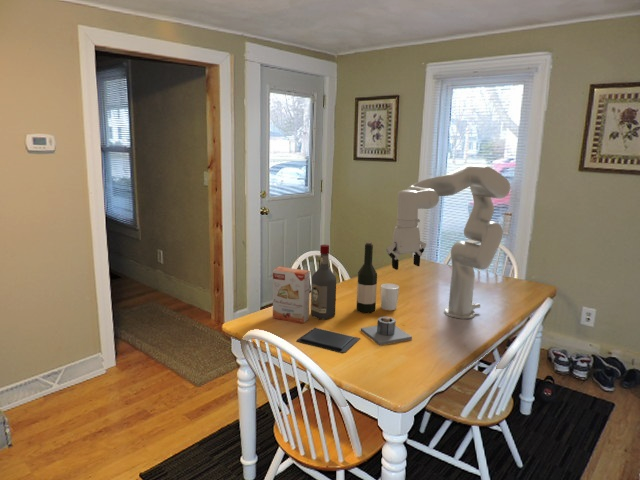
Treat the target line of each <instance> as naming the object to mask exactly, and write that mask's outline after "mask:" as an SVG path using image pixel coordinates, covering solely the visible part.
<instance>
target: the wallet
mask: <svg viewBox="0 0 640 480" xmlns="http://www.w3.org/2000/svg"><path fill="white" fill-rule="evenodd" d="M361 339H362V338H361V337H357V336H353V335H348V334H345V333H342V332H341V333H340V332H337V331H336V332H335V331H332V330H328V329H325V328H318V327H314V328H312V329H311V330H308V332H306V333H304V334H303V335H302V336H301V337H299V338H297V339H296V341H295V342H296V343H300V344H304V345H307V346H312V347H315V348H320V349H324V350H327V351H331V352H335V353H339V354H345V353H347V352H348V351H349V350H350V349H352V347H353V346H354V345H356V344H357V343H358V342H359V341H360V340H361Z"/></svg>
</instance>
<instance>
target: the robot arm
mask: <svg viewBox="0 0 640 480" xmlns="http://www.w3.org/2000/svg"><path fill="white" fill-rule="evenodd" d="M468 188H470V192H471V195H472V198H473V207H472V209H471V212H470V214H469V217H468V219H467V221H466V224H465V226H464V229H463V236H464V238H466V239H467V240H470V241H474V242H478V243H480V244H476V243H473V242H470V241H465V240H461V241H457V242H454V243H453V245H452V247H451V249H450V261H451V276H450V277H451V278H450V287H449V288H450V289H449V296H448V297H449V299H448V306H447V307H445V308H444V314H446V315H447V316H448V317H452V318H454V319H455V318H456V319H460V320H461V319H462V320H463V319H464V320H466V319H469V320H470V319H472V318H474V317H475V316H476V312H475V309H479V308H481V304H480V303H475V304H474V302H473V300H474V299H473V298H474V289H475V287H474V286H475V278H476V275H475V269H477V270H483V271H484V270H486V269H488V268H489V267H490V266H491V264H492V262H493V260H494V258H495V256H496V254H497V251H498V249H499V246H500V244H501V242H502V239H503V235H504V233H503V232H504V231H503V227H502V225H501V224H500V223H498V222H497V221H492V217H493V215H494V212H495V207H494V203H493V201H492V199H503V198H506V197H507V196H508V195H509V193H510V191H511V184H510V181H509V179H508V178H507V177H506V176H504V175H502V174H501V173H500V172H499V171H497V170H495V169H494V168H492V167H491V166H488V165H482V164H465V165H462V166H461V167H459V168H456V169H455V170H453V171H451V172H448V173H446V174H443V175H439V176H434V177H432V178H427V179H423V180H420V181H418V182H415V183H413V184H411V185H409V186H408V187H406V189H402V190H399V191H398V192H397V207H396V208H397V211H396V212H397V214H396V215H397V216H396V226H395V227H394V230H393V234H392V242H391V244H390V245H389V246H387V247H386V249H385V250H386V252H387V255H388V256H389V257H390V259H391V267H392V269H394V270H396V271H398V270H399V257H400V255H404V254H405V255H406V254H412V253H414V254H413V265H414V266H416V267H420V263H421V256H423V255H422V254H423V253H424V252H425V249H426V247H427V243H426V242H424V241H422V240H421V233H420V227H419V226H418V223H420V221H421V220H420V219H419V218H418V217H419V214H418V213H419V212H418V211H419V210H420V209H422V210H430V209H432V208H435V207H436V206H437V205H438V203H439V201H440V197H448V196H453V195H454V196H455V195H456V194H458V193H460V192H462V191H463V190H466V189H468Z"/></svg>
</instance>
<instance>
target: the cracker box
mask: <svg viewBox="0 0 640 480" xmlns="http://www.w3.org/2000/svg"><path fill="white" fill-rule="evenodd" d="M310 277H311V271H310V270H306V269H298V268H293V267H286V266H285V267H284V266H277V267H276V268H274V269H273V270H272V318H273V319H278V320H282V321H288V322H294V323H299V324H305V323H306V322H307V321H308V320H309V318H310V291H311V285H310V284H311V283H310V282H311V281H310V280H311V278H310Z"/></svg>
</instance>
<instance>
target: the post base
mask: <svg viewBox="0 0 640 480" xmlns="http://www.w3.org/2000/svg"><path fill="white" fill-rule="evenodd" d="M384 317H385V318H383V322H390V318H387V317H388V316H384ZM360 332H361V333H363V334H364V335H365V336H367V337H368V338H369V339H371V340H372V341H373V342H374V343H376V344H377V345H378V346H383V345H389V344H393V343H394V344H396V343H400V342H405V341H407V342H408V341H412V340H413V339H412V338H413V336H412V335H410V334H409V333H407V332H406V331H404V330H402V329H401V328H400V327H398V326H397V325H395V333H394V335H391V336H384V335H380V334H379V333H377V324H376V325H371V326H365V327H364V326H363V327H360Z"/></svg>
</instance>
